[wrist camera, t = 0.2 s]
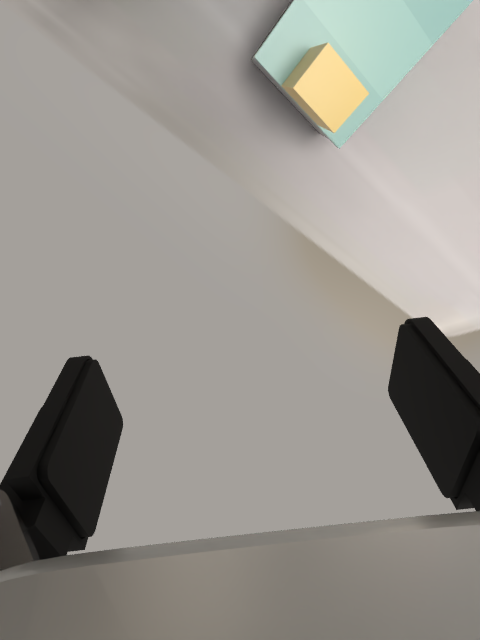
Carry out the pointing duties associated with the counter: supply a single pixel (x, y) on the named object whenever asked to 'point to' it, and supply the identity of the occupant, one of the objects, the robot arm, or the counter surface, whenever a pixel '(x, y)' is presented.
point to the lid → (350, 54)
